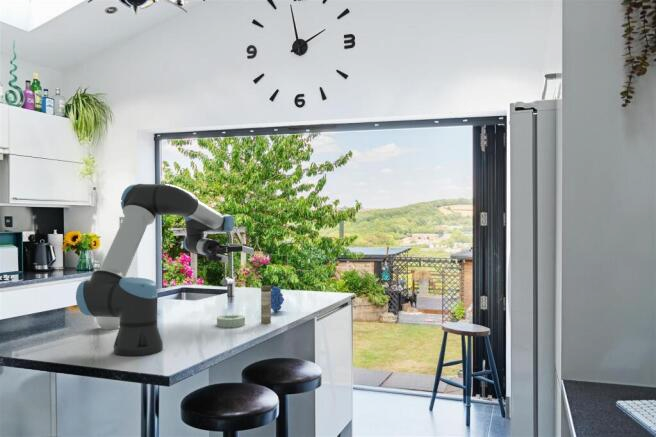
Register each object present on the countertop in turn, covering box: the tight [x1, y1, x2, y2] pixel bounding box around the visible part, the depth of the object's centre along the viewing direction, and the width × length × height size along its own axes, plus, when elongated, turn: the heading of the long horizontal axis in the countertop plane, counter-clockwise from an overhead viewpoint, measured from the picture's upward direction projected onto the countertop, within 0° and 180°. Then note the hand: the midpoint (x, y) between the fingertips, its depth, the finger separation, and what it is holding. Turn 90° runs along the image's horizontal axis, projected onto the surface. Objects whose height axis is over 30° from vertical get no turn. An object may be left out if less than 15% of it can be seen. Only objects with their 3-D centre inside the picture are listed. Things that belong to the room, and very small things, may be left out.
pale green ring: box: [216, 314, 246, 328], centre depth 222 cm, size 11×11×3 cm
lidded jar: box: [95, 316, 120, 331], centre depth 214 cm, size 11×11×9 cm
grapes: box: [271, 285, 285, 313], centre depth 251 cm, size 12×7×12 cm, turn 159°
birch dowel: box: [260, 285, 272, 324], centre depth 227 cm, size 4×4×15 cm
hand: (240, 255), depth 226 cm, fingers open, 13 cm apart
